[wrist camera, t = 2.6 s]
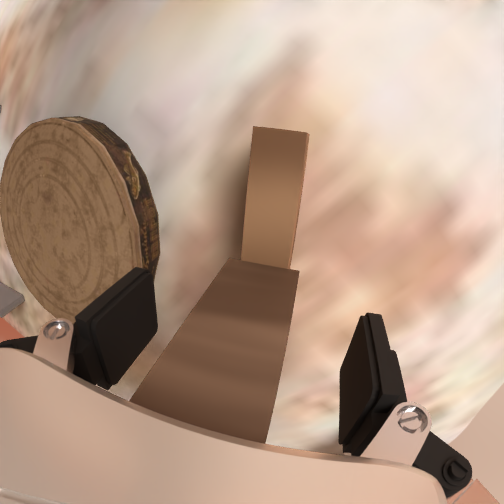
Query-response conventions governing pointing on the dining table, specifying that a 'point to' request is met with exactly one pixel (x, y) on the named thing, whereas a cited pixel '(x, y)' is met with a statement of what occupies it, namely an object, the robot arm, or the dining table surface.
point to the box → (8, 296)
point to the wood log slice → (76, 212)
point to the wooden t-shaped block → (240, 309)
